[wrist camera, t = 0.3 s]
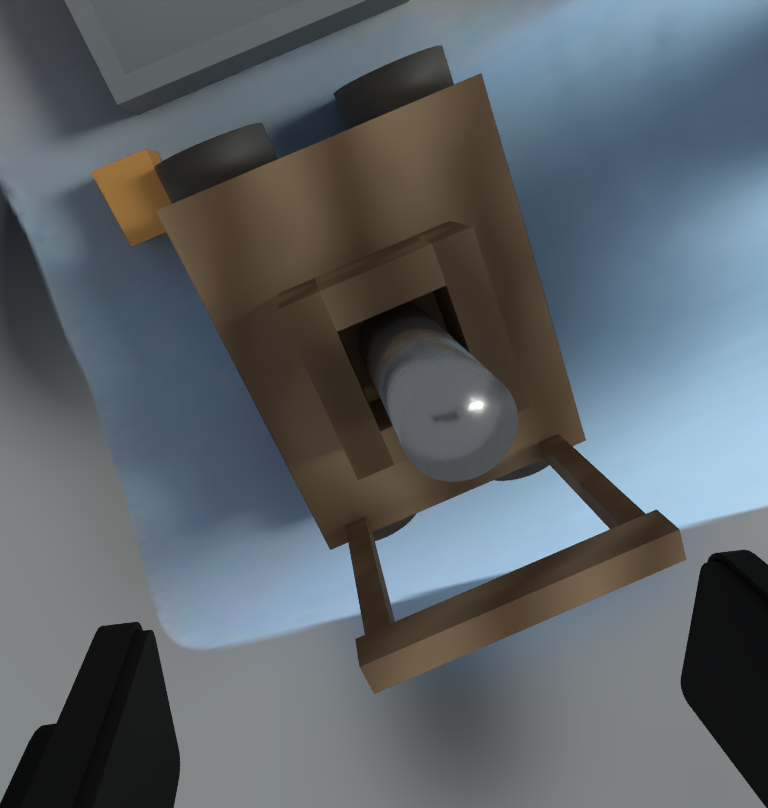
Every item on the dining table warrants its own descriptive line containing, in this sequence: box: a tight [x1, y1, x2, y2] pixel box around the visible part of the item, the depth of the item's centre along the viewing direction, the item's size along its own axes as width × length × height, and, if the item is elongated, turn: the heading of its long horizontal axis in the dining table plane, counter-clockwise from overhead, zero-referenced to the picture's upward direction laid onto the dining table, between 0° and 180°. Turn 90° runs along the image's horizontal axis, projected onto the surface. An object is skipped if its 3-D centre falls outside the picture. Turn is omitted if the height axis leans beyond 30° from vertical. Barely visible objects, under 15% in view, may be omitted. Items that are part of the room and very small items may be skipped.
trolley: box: [154, 46, 686, 694], centre depth 30 cm, size 16×24×19 cm, turn 21°
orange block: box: [91, 149, 172, 247], centre depth 33 cm, size 3×4×3 cm
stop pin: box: [358, 302, 518, 482], centre depth 26 cm, size 4×4×12 cm
